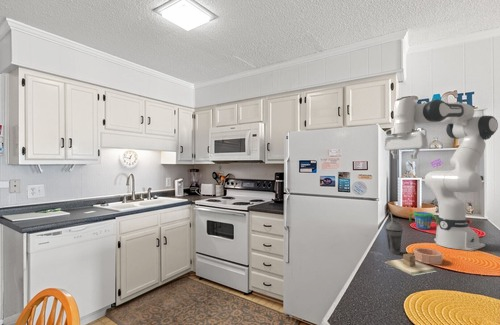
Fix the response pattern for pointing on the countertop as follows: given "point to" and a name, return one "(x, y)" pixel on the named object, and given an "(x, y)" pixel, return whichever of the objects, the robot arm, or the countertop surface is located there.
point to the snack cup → (423, 219)
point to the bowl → (428, 256)
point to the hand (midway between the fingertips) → (404, 158)
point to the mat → (421, 273)
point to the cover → (409, 265)
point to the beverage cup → (394, 236)
